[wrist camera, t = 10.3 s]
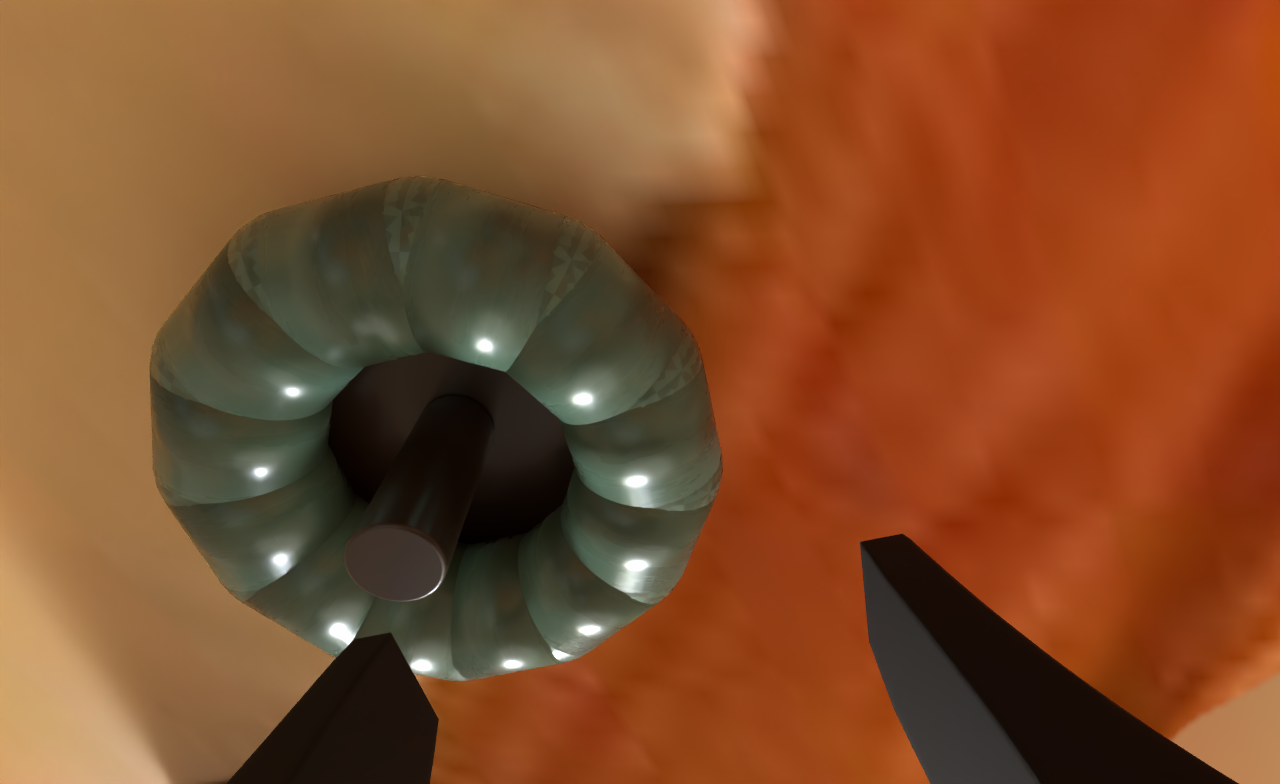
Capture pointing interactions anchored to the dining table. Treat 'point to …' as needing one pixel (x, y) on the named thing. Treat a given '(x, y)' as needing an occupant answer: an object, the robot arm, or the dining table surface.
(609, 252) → the ring
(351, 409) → the holder
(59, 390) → the dining table surface
